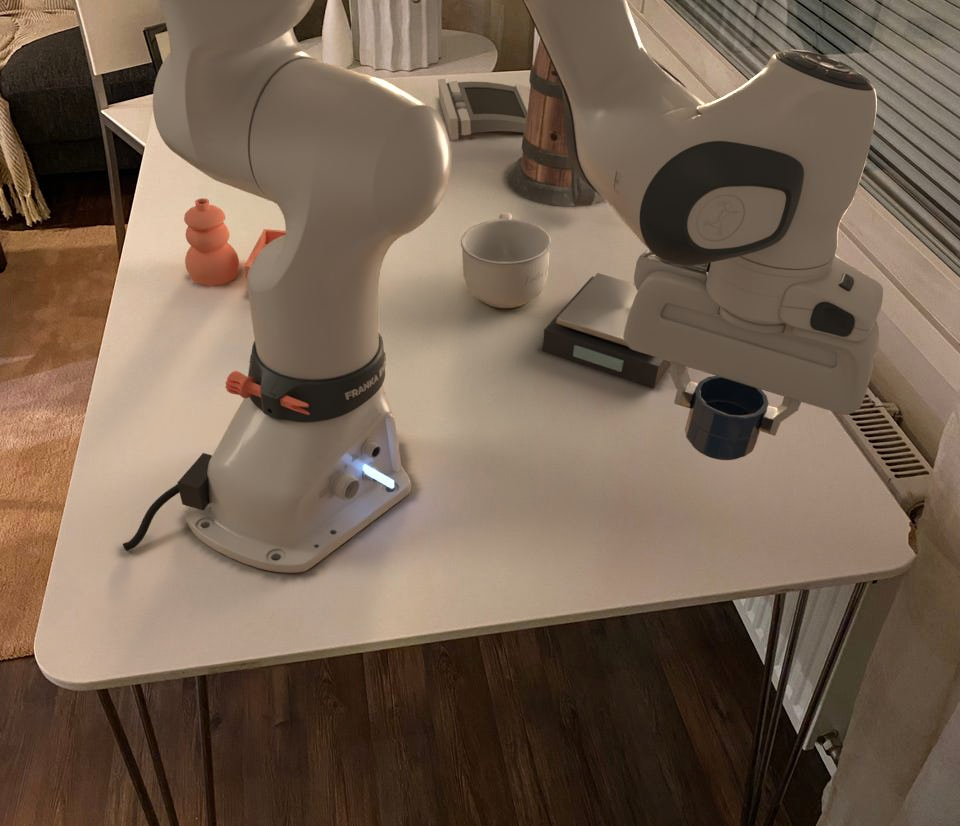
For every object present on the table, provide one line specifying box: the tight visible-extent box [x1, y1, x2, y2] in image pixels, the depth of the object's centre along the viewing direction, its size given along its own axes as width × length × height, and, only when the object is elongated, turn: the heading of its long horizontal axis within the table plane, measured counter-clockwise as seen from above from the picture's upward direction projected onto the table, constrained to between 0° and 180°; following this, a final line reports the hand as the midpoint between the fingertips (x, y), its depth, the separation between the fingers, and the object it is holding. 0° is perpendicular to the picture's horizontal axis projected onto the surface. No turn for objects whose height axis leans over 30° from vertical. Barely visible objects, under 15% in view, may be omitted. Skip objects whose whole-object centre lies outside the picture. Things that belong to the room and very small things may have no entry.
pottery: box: [183, 197, 286, 298], centre depth 119 cm, size 18×10×10 cm, turn 85°
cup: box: [684, 375, 770, 461], centre depth 85 cm, size 6×6×5 cm
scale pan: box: [556, 272, 638, 347], centre depth 113 cm, size 12×12×1 cm
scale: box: [541, 276, 670, 389], centre depth 114 cm, size 14×14×3 cm
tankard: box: [505, 38, 605, 207], centre depth 137 cm, size 24×17×20 cm
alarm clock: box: [437, 78, 530, 141], centre depth 162 cm, size 17×5×16 cm
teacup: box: [460, 212, 552, 309], centre depth 120 cm, size 14×11×8 cm
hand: (726, 416), depth 84 cm, fingers closed on cup, 6 cm apart
